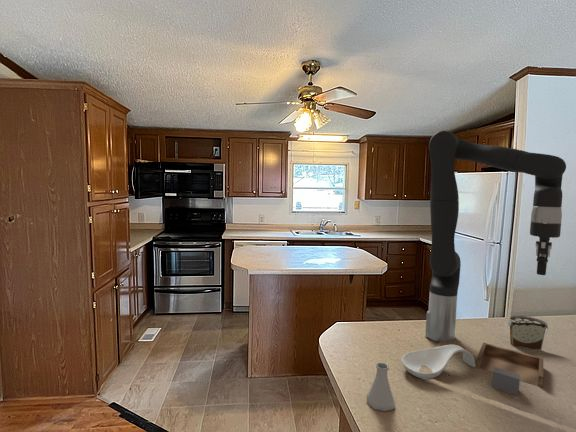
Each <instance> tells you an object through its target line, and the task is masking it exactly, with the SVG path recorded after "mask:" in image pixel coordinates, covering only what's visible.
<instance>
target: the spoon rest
mask: <svg viewBox="0 0 576 432" xmlns="http://www.w3.org/2000/svg"><path fill="white" fill-rule="evenodd" d="M456 353H457V354H458V353H462V361H463V362H464V363H465V364H468V365H469V366H471V367H472V368H473V367H474V368H477V367H476V363H477V362H476V361H475V357H474V356H473V354H472V353H471V352H470V351H469V350H467V349H465V348H463V347H462V346H460V345H457V344H446V345H441V346H437V347H436V346H435V347H432V348H425V349H420V350H414V351H409V352H407V353H405V354H403V355H402V357H401V364H402V365H403V367H404V368H405V370H406V371H407V372H408V373H409V374H410V375H412V376H414V377H416V378H419V379H423V380H425V379H426V380H431V379H435V378H436V377H438V376H440V375H441V374H442V373H443V372H444V370H445V369H446V367H447V366H448V364H449V362H450V360H451V359H452V358H453V357H454V355H455V354H456ZM423 366H424V367H426V368H429V369H430V370H431V372H424V371H423V372H421V371H420V370H421V368H422V367H423Z"/></svg>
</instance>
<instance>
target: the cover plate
mask: <svg viewBox="0 0 576 432" xmlns="http://www.w3.org/2000/svg"><path fill="white" fill-rule="evenodd" d="M491 378H492V379H491V388H492V389H493V388H494V389H496V390H498V391H502V392H505V393H508V394H511V395H514V396H519V391H520V382H521V381H520V374H516V373H513V372H510V371H506V370H503V369H499V368H496V367H494V369H493V372H492V377H491Z"/></svg>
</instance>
